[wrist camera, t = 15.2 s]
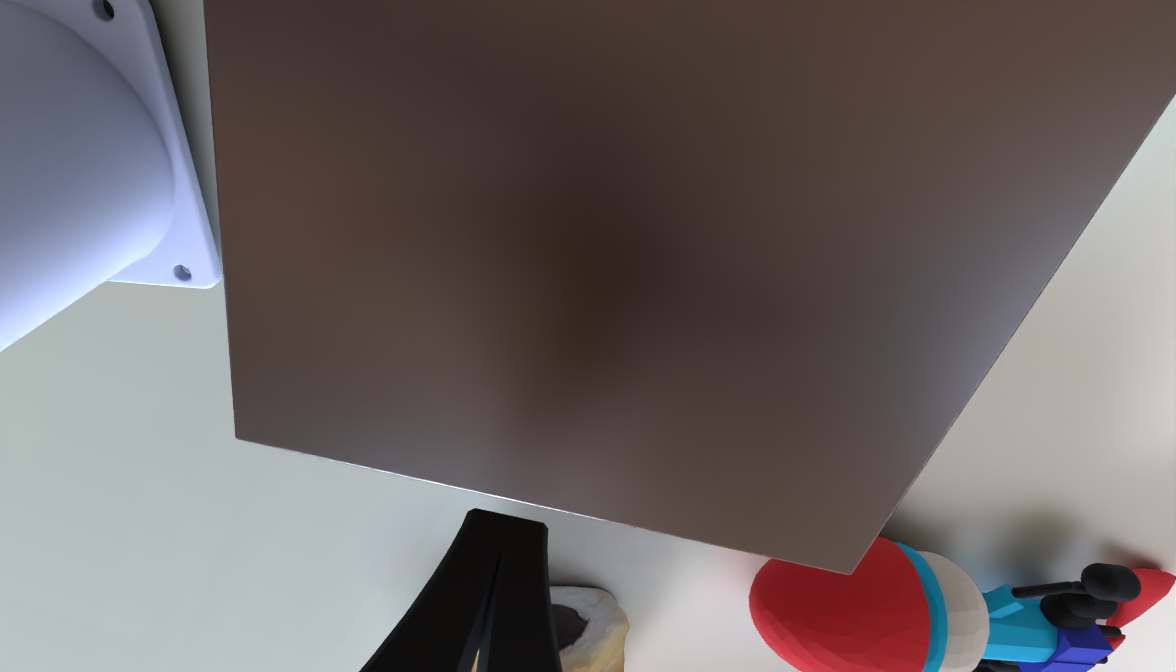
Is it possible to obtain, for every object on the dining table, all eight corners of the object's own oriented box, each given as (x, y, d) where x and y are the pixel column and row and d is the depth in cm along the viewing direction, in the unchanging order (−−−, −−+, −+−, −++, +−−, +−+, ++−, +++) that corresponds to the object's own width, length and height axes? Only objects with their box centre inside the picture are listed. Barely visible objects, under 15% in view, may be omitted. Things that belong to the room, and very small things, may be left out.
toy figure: (1155, 519, 25) (780, 468, 21) (1270, 655, 21) (834, 618, 18) (1021, 625, 29) (695, 596, 26) (1095, 753, 25) (723, 737, 22)
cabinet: (425, -406, 12) (139, -801, 6) (1049, -225, 13) (1498, -378, 6) (381, 254, 20) (233, 440, 13) (784, 350, 20) (851, 577, 13)
